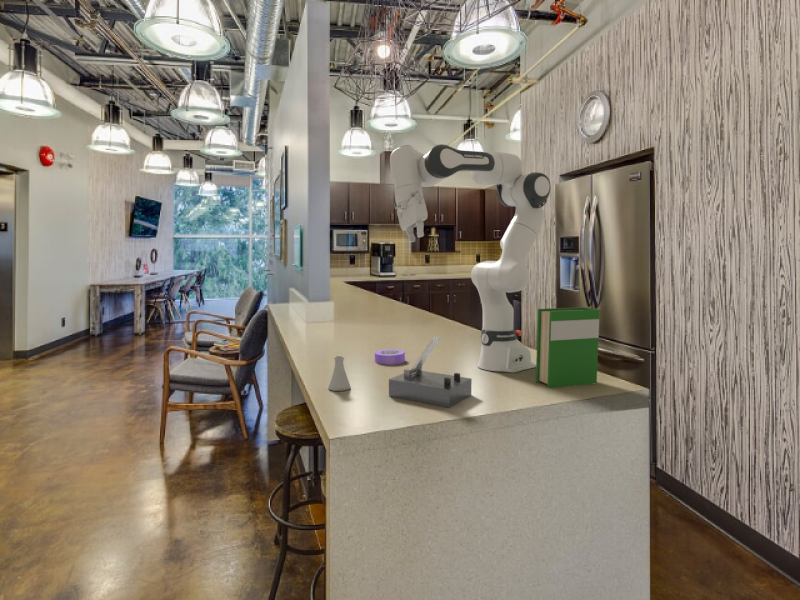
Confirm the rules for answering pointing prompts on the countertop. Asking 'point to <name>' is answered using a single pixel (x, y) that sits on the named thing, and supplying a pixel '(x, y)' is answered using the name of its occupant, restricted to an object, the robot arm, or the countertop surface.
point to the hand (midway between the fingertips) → (416, 239)
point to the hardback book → (567, 346)
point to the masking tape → (389, 356)
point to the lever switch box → (430, 387)
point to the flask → (339, 376)
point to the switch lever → (424, 355)
